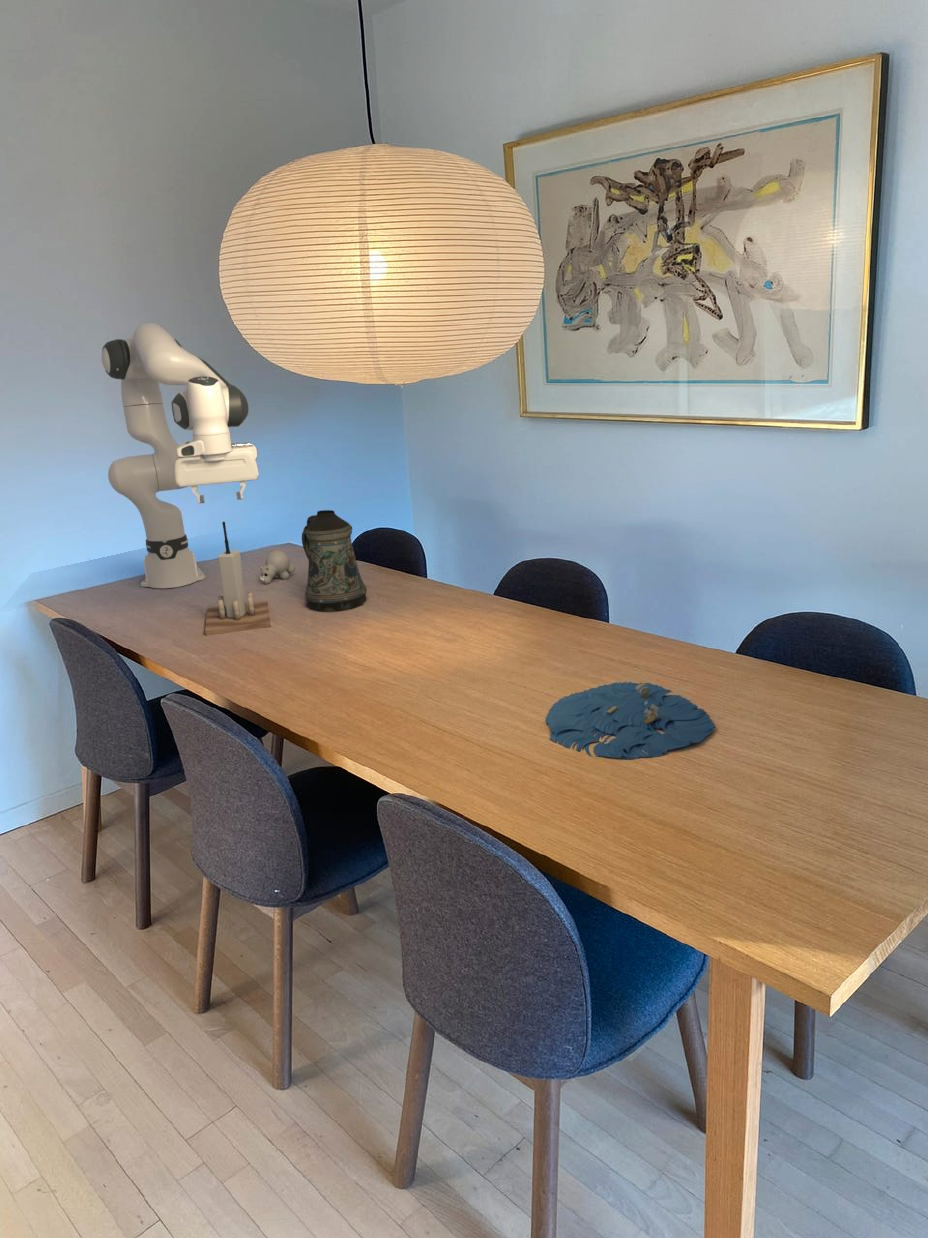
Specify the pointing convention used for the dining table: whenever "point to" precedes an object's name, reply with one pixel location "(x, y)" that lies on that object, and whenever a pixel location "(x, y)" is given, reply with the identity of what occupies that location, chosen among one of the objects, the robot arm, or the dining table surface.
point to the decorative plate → (627, 720)
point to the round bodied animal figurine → (276, 567)
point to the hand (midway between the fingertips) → (220, 501)
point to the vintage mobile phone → (232, 579)
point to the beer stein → (331, 564)
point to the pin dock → (237, 617)
